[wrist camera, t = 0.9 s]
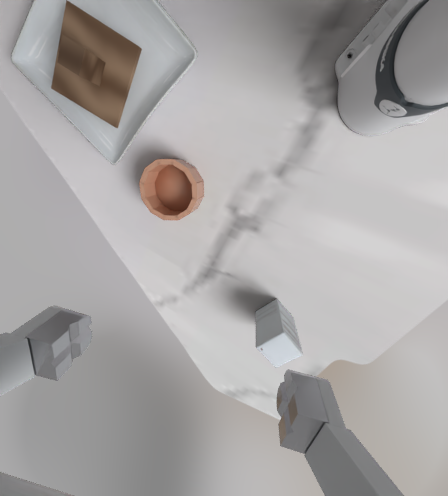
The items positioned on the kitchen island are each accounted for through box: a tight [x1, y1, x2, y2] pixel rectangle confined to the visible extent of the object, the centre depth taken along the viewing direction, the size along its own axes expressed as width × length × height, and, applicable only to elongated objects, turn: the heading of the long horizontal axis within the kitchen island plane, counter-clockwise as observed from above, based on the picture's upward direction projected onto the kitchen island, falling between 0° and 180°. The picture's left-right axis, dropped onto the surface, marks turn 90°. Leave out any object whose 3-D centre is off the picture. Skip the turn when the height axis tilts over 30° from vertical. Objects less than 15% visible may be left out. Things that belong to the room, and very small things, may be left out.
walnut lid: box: [51, 0, 142, 128], centre depth 37 cm, size 14×14×6 cm
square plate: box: [11, 0, 198, 165], centre depth 41 cm, size 27×27×4 cm
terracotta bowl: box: [139, 159, 204, 220], centre depth 46 cm, size 12×12×6 cm
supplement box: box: [256, 299, 303, 368], centre depth 51 cm, size 7×7×13 cm
